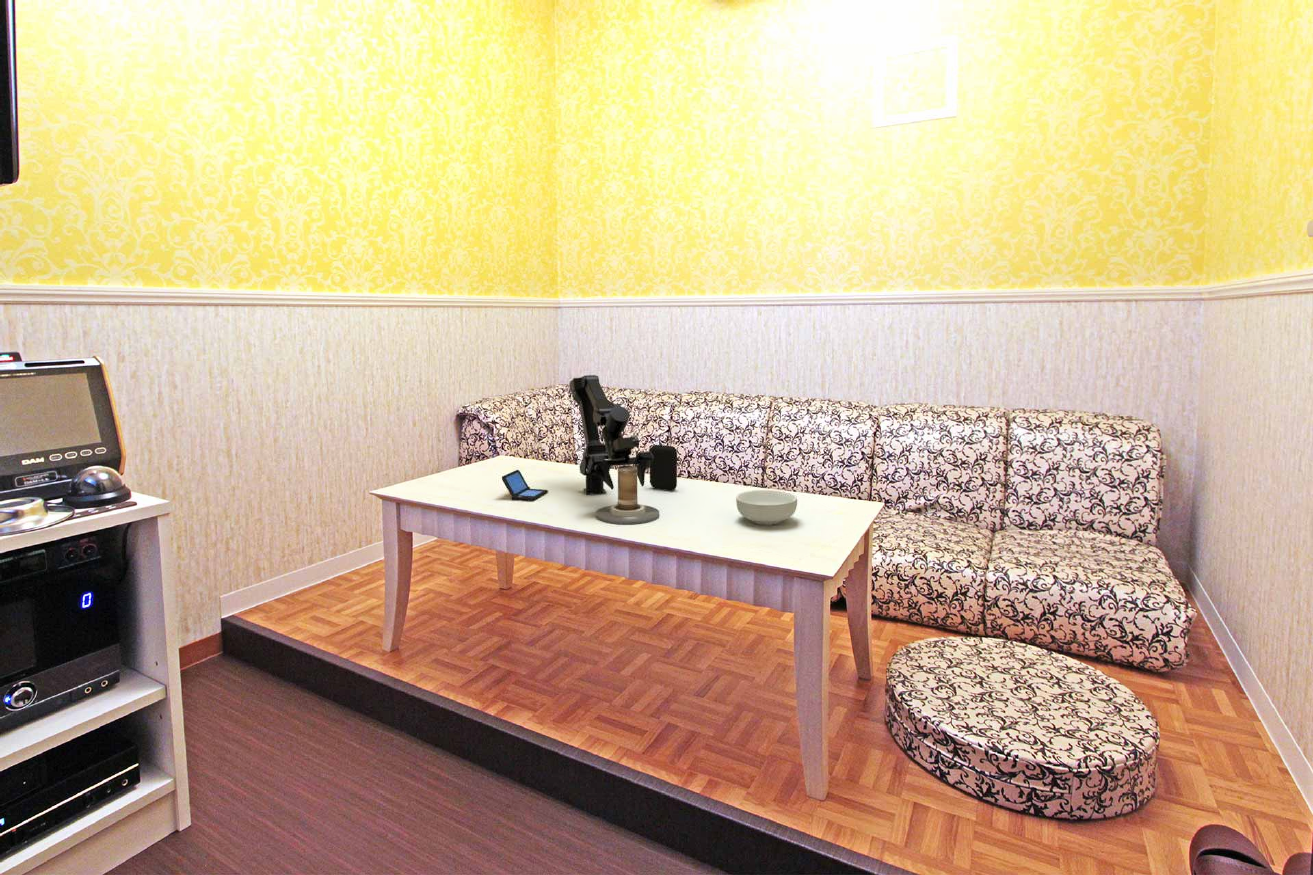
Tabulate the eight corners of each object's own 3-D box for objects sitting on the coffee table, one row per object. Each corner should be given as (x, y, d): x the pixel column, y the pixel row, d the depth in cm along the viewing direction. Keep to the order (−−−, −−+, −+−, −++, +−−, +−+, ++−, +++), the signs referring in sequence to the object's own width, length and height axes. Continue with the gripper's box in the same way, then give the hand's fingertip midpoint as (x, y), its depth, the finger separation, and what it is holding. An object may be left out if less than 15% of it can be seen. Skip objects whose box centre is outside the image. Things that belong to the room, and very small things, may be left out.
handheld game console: (533, 502, 222) (532, 478, 221) (501, 500, 224) (500, 476, 223) (549, 493, 234) (548, 470, 233) (518, 491, 236) (517, 468, 235)
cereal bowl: (756, 509, 213) (757, 486, 212) (807, 519, 203) (808, 495, 202) (723, 522, 201) (724, 497, 199) (776, 533, 190) (777, 507, 189)
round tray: (591, 509, 213) (590, 501, 212) (650, 505, 218) (650, 497, 217) (602, 526, 196) (602, 517, 195) (666, 521, 200) (666, 513, 200)
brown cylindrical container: (621, 508, 210) (621, 465, 208) (639, 510, 209) (639, 466, 206) (615, 514, 205) (615, 469, 202) (634, 515, 203) (634, 470, 201)
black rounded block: (645, 488, 239) (645, 444, 237) (649, 486, 242) (649, 443, 239) (674, 492, 234) (674, 447, 232) (678, 490, 237) (678, 445, 234)
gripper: (590, 427, 203) (603, 474, 195) (651, 424, 211) (666, 468, 203) (581, 450, 212) (594, 495, 204) (641, 446, 219) (655, 489, 211)
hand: (628, 487), depth 205 cm, fingers open, 9 cm apart
